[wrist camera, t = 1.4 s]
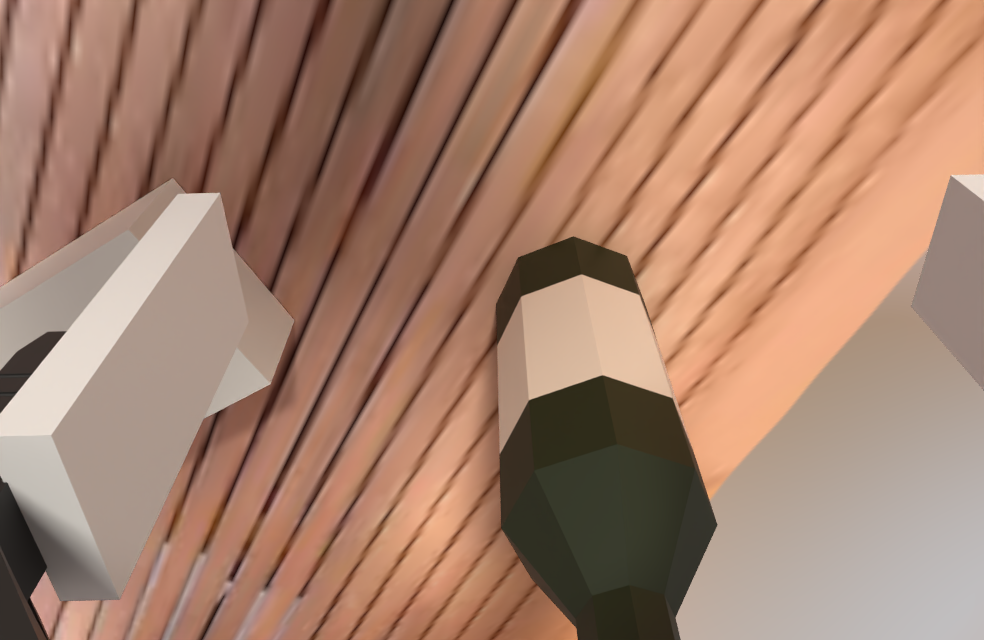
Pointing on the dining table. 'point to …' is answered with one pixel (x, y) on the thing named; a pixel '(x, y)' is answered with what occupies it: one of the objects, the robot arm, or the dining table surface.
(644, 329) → the wine bottle
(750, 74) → the dining table surface
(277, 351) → the block
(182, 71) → the dining table surface
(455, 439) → the dining table surface
